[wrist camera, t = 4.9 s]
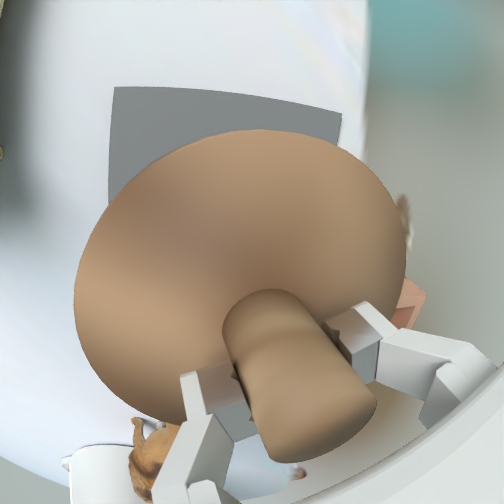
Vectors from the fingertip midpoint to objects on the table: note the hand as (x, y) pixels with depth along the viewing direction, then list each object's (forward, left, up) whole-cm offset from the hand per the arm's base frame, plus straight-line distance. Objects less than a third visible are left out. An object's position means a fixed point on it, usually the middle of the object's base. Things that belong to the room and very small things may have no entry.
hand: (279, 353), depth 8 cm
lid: (0, 0, -2) cm, 2 cm away
